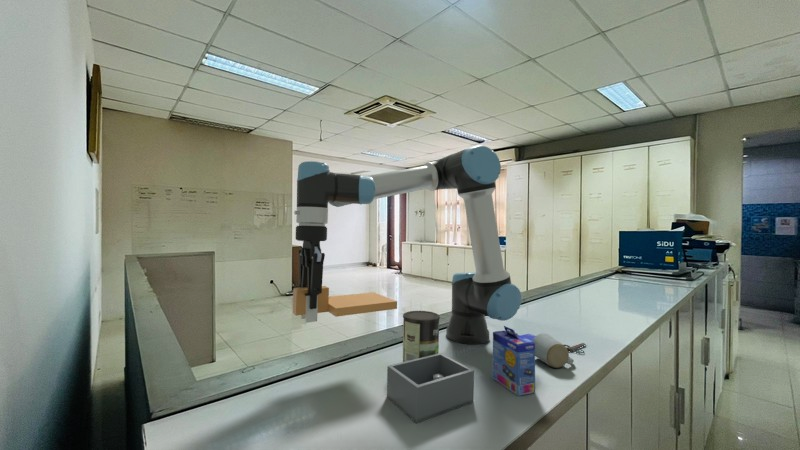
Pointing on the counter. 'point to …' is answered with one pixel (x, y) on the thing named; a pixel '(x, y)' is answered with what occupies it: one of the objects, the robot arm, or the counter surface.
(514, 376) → the ink cartridge box
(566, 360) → the ceramic mug
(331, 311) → the lid
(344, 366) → the counter surface
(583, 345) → the keychain
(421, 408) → the parts tub
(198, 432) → the counter surface
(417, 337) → the coffee can
